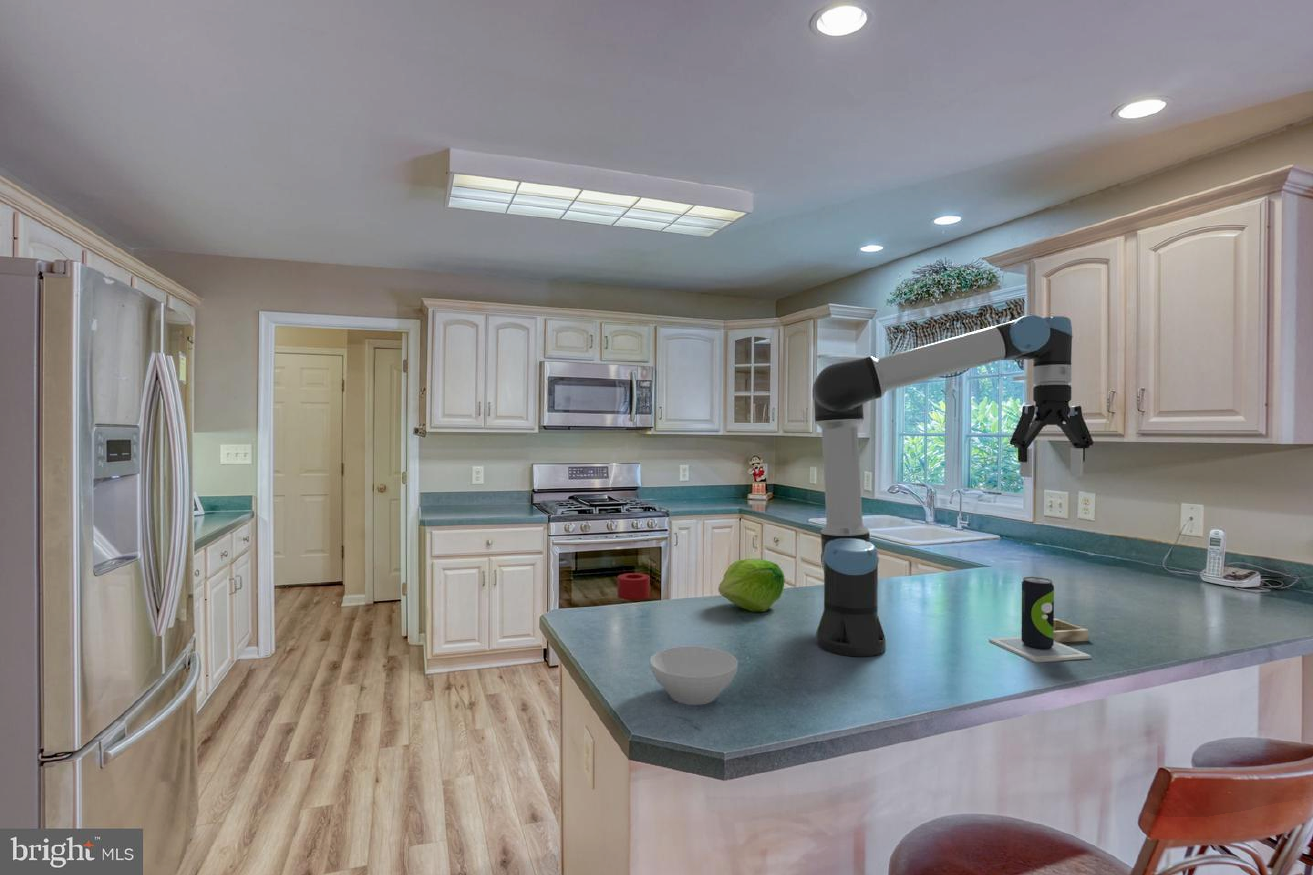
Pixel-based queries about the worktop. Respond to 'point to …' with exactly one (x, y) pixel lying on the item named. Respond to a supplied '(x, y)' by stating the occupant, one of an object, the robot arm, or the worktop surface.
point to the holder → (1069, 632)
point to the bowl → (693, 672)
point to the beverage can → (1037, 613)
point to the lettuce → (753, 584)
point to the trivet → (1038, 655)
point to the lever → (633, 586)
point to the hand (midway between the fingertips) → (1051, 476)
